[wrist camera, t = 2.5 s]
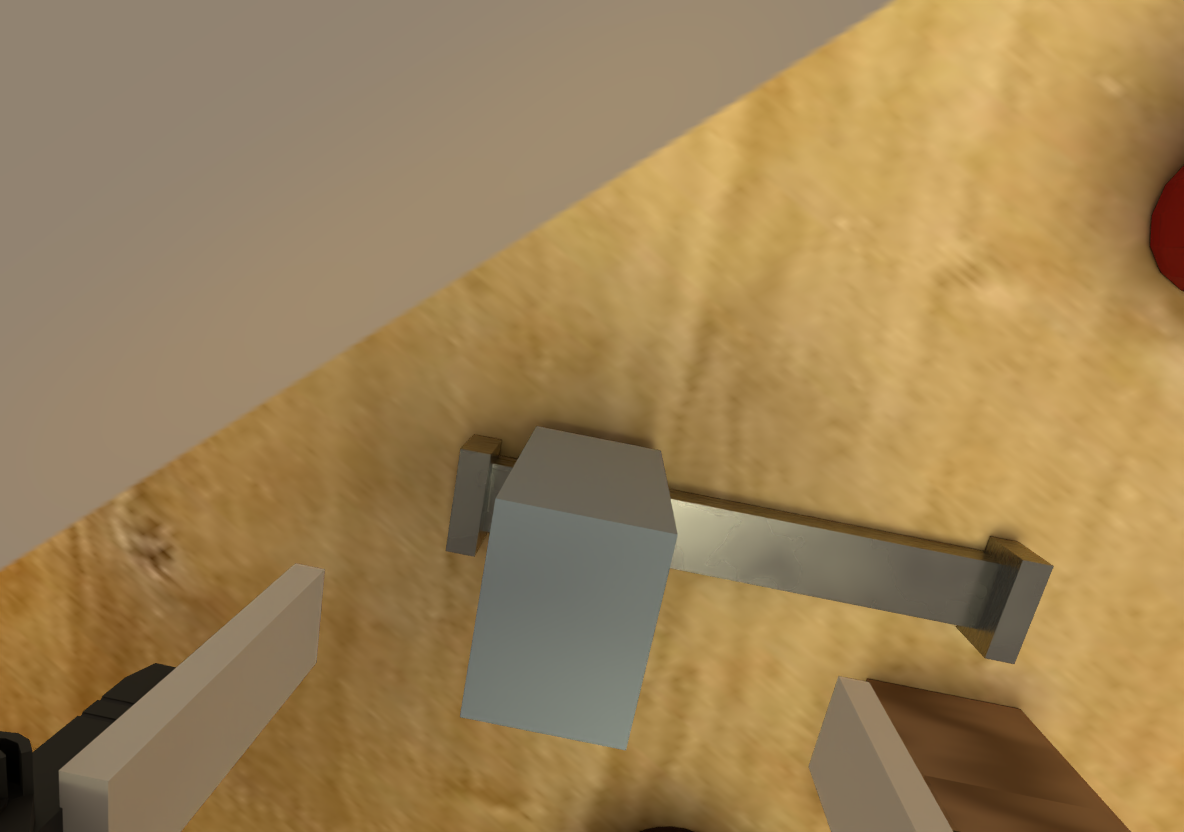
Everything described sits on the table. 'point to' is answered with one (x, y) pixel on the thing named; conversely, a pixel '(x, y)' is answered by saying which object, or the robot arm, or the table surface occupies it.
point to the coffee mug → (666, 829)
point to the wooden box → (992, 766)
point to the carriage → (571, 589)
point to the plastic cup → (1170, 230)
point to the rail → (812, 557)
